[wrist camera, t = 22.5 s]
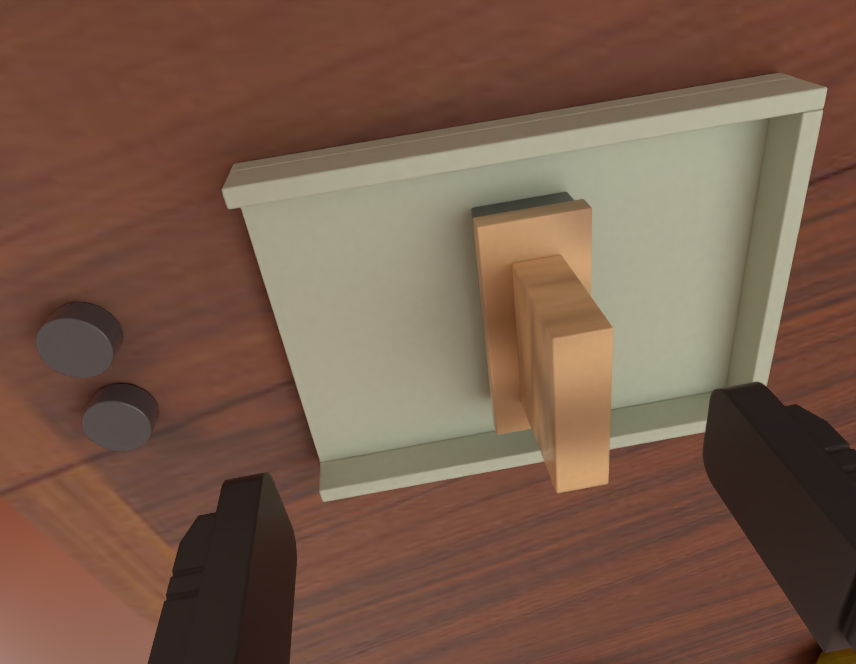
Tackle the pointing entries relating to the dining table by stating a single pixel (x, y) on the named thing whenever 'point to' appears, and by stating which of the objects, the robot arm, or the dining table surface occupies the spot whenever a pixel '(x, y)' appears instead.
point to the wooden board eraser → (546, 333)
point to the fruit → (838, 657)
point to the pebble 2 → (120, 417)
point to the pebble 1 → (79, 340)
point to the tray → (458, 277)
